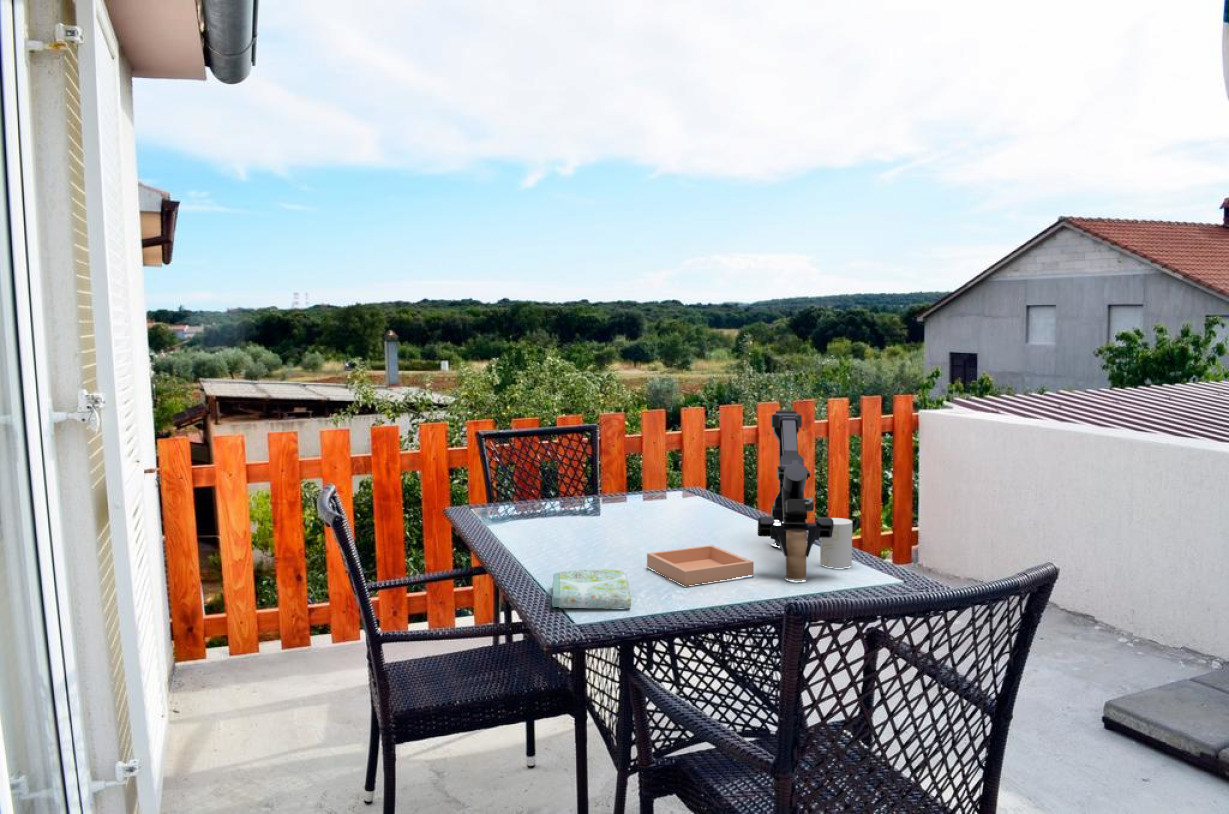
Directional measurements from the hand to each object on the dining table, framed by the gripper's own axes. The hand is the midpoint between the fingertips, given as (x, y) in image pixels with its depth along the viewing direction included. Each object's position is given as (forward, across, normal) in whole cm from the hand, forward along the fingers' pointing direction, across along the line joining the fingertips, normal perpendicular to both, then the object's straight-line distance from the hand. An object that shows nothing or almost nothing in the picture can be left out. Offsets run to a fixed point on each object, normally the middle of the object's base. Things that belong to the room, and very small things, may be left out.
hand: (796, 555), depth 233 cm
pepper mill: (+4, 0, +6) cm, 7 cm away
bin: (0, -24, +9) cm, 26 cm away
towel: (+18, -49, -7) cm, 53 cm away
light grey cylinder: (-7, +12, +17) cm, 21 cm away
